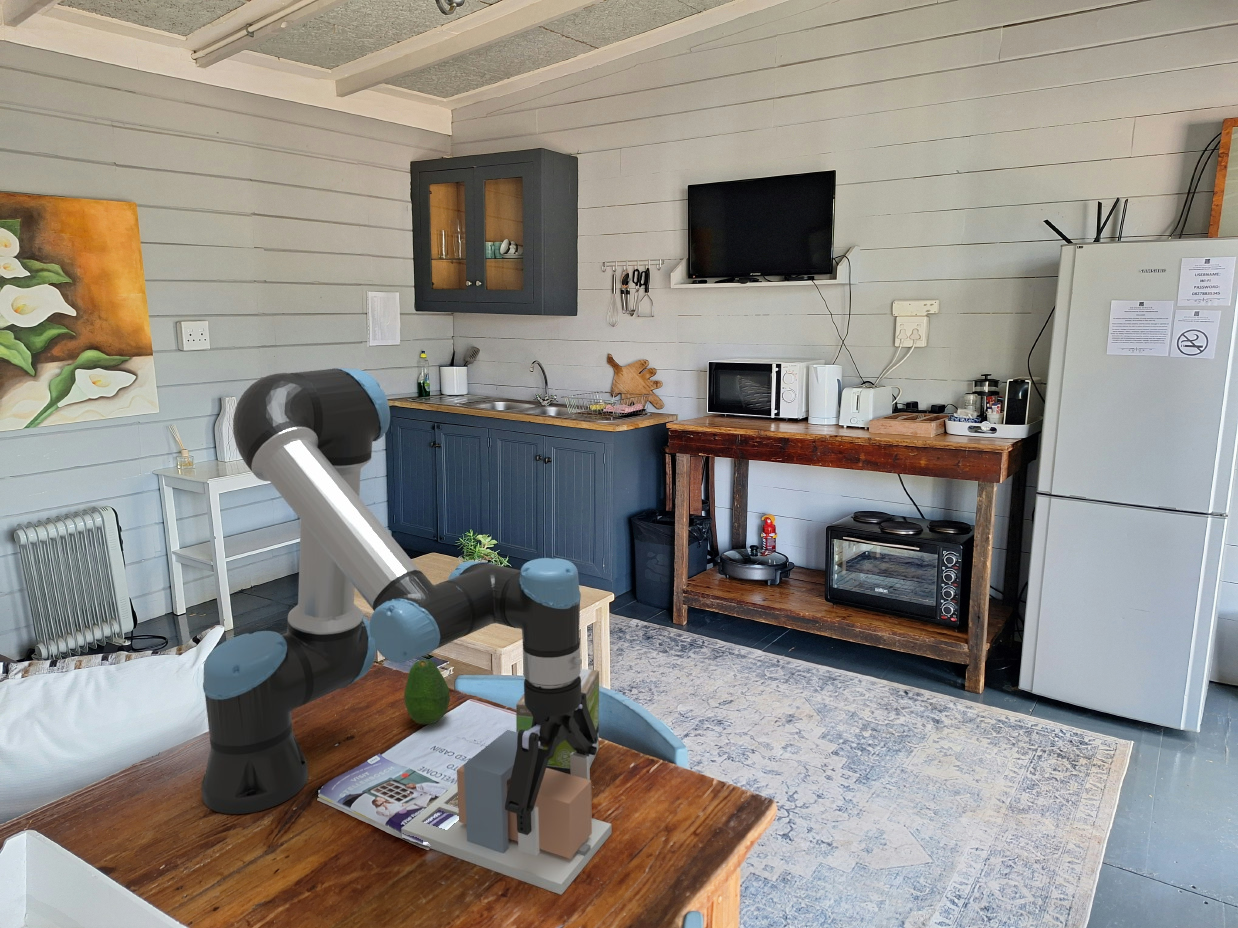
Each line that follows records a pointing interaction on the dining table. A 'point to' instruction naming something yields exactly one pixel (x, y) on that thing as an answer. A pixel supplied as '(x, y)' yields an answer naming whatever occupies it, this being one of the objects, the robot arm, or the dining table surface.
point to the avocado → (426, 693)
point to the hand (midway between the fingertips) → (556, 823)
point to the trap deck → (499, 825)
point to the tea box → (564, 749)
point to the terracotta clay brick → (551, 811)
